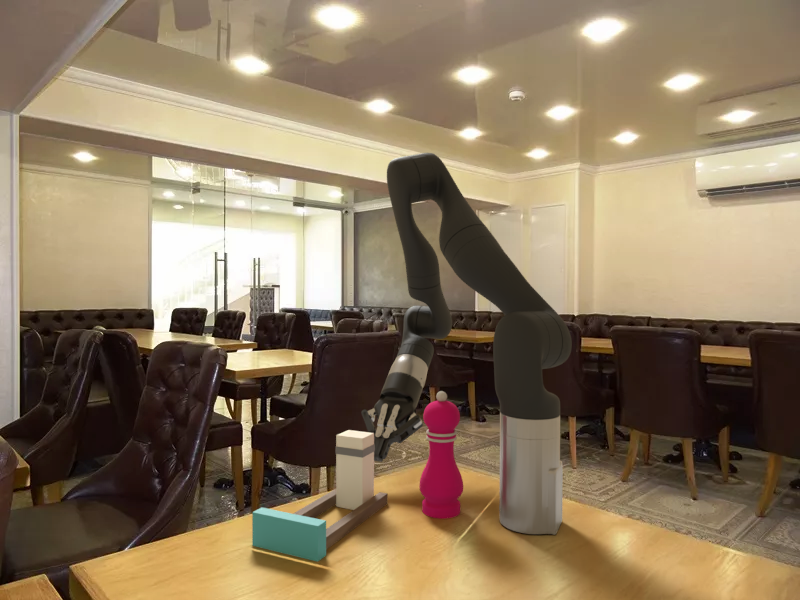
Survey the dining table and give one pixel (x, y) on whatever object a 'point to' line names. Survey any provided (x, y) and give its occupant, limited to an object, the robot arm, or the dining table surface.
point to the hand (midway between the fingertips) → (376, 459)
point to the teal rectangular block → (289, 533)
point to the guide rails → (346, 522)
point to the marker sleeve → (354, 468)
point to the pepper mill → (441, 461)
